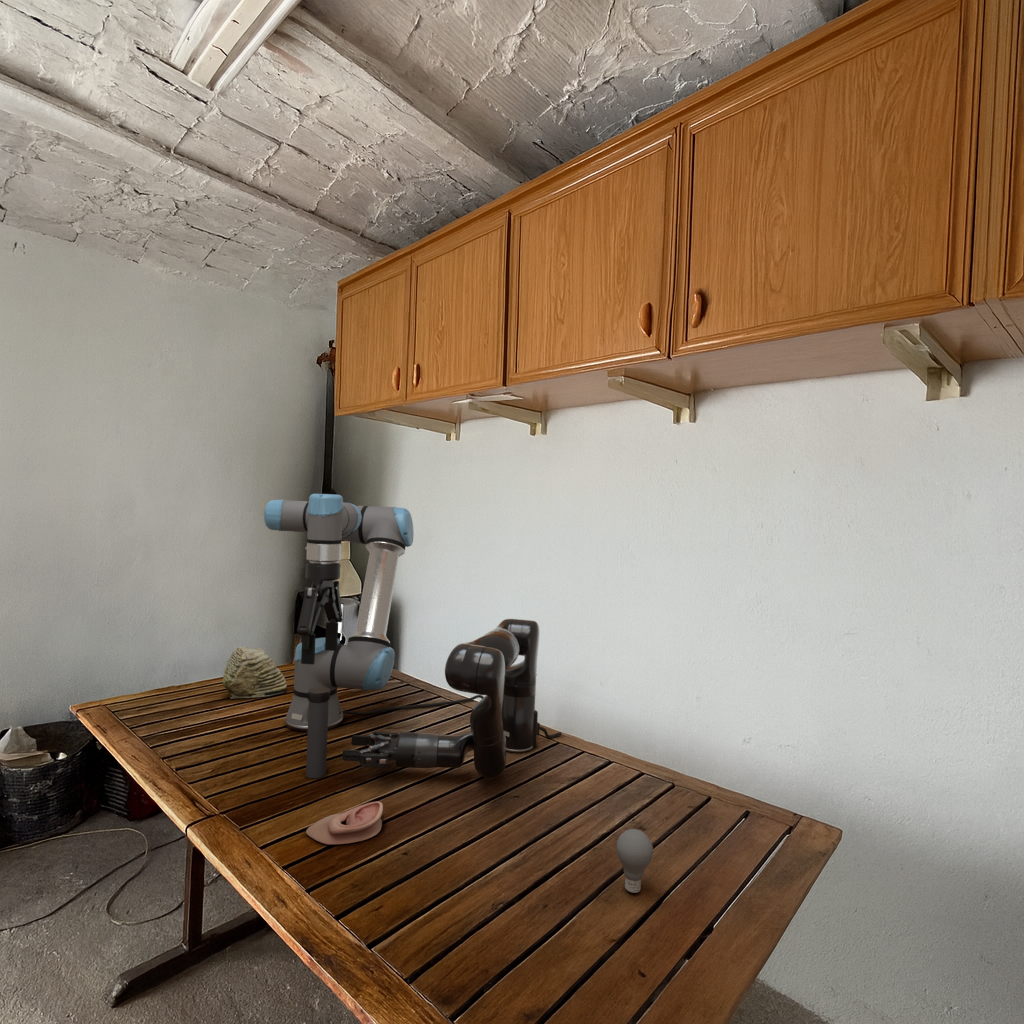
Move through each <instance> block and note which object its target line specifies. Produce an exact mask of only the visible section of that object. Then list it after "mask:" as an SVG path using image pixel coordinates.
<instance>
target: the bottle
mask: <svg viewBox="0 0 1024 1024" xmlns="http://www.w3.org/2000/svg"><path fill="white" fill-rule="evenodd" d="M328 707H329V700H327V701H324V702H311V701H309V708H308V732H307V736H306V738H307V739H306V763H305V777H307V778H309V779H319V778H323V777H325V776H326V775H327V759H328V758H327V757H328V756H327V755H328V732H329V730H328Z"/></svg>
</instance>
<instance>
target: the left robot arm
mask: <svg viewBox="0 0 1024 1024" xmlns="http://www.w3.org/2000/svg"><path fill="white" fill-rule="evenodd" d="M263 521H264V525H265V526H266V527H267V528H268V529H269V530H271V531H278V532H295V533H307V535H306V536H307V537H306V545H305V548H304V549H305V551H306V560H307V561H308V562H307V563H306V564H305V578H306V580H307V581H311V586H310V587H308V586H305V588H304V592H303V600H302V605H301V609H300V613H299V614H300V615H299V619H298V623H297V627H296V632H297V633H296V634H298V635H301V642H299V643H298V644H297V645H296V647H295V654H294V659H293V661H294V672H293V695H292V696H293V697H292V699H291V702H290V704H289V708H288V711H287V713H286V715H285V726H286V728H287V729H289V730H291V731H294V732H295V731H296V732H301V733H308V708H309V700H308V690H309V689H311V688H315V687H326V688H329V689H330V699H329V707H328V731H329V730H332V729H335V728H337V727H339V726H340V725H342V723H343V722H344V715H354V716H355V715H356V716H369V715H374V714H377V713H381V712H387V711H388V712H389V711H395V710H405V709H415V708H416V709H417V708H427V707H428V708H429V707H438V706H446V705H447V706H448V705H454V704H460V703H465V702H471V701H474V700H477V699H480V700H482V699H483V698H484V697H485V696H484V695H479V694H475V695H474V696H471V697H468V698H463V699H457V700H449V701H442V702H441V701H440V702H432V703H421V704H420V703H419V704H408V705H400V706H399V705H398V706H389V707H382V708H378V709H374V710H370V711H354V710H343V709H342V706H341V702H340V699H339V695H338V689H354V690H364V691H380V690H382V689H384V688H385V686H386V685H387V684H388V683H389V681H390V678H391V677H392V676H391V675H392V673H393V671H394V666H395V657H396V654H395V650H394V648H392V647H391V641H390V640H389V639H388V637H387V631H388V625H389V619H390V613H391V606H392V600H393V594H394V588H395V583H396V577H397V571H398V563H399V558H400V557H402V556H403V555H404V554H405V552H406V548H409V547H411V546H413V542H414V523H413V517H412V514H411V512H410V510H408V509H407V508H405V507H397V506H375V505H374V506H373V505H355V504H353V503H350V502H349V501H346V502H345V501H344V498H343V496H342V495H341V494H333V493H332V494H331V493H312V494H310V495H309V498H308V501H307V500H292V499H291V500H289V499H272V500H270V501H268V502H267V504H266V505H265V507H264V512H263ZM342 541H344V542H349V543H354V544H359V545H365V549H366V551H367V552H368V553H369V555H368V561H367V566H366V572H365V577H364V582H363V588H362V594H361V599H360V604H359V608H358V609H359V610H358V614H357V615H358V616H357V620H356V626H355V631H354V632H353V633H352V634H350V635H349V636H348V639H347V644H341V641H340V639H339V623H343V620H344V619H343V618H344V617H343V608H342V601H341V593H340V581H339V579H340V578H341V564H340V561H341V560H342ZM322 608H323V609H324V612H325V616H326V618H327V622H326V623H325V637H316V633H314V632H315V629H316V627H317V623H318V619H319V617H320V613H321V610H322Z"/></svg>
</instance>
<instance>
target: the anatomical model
mask: <svg viewBox="0 0 1024 1024" xmlns="http://www.w3.org/2000/svg"><path fill="white" fill-rule="evenodd" d="M383 813H384V804H383V803H382V802H381V801H377V800H376V801H371V802H367V803H364V804H361V805H358V806H355V807H353V808H351V809H349V810H346V811H344V812H341V813H336V814H331V815H328V816H326V817H323V818H321V819H319V820H318V821H315V823H313V824H311V825H310V826H309V827H307V829H306V831H305V833H306V835H307V836H308V837H310V838H311V839H313V840H315V841H317V842H318V843H321V844H323V845H333V846H335V845H344V844H345V845H346V844H352V843H357V842H363V841H365V840H368V839H371V838H373V837H374V836H376V835H378V834H379V833H380V832H381V829H382V827H383V821H382V815H383Z"/></svg>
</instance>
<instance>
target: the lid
mask: <svg viewBox="0 0 1024 1024" xmlns="http://www.w3.org/2000/svg"><path fill="white" fill-rule="evenodd" d="M329 699H330V689H329V688H326V687H315V688H311V689H309V690H308V700H309V701H311V702H324V701H327V700H329Z"/></svg>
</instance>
